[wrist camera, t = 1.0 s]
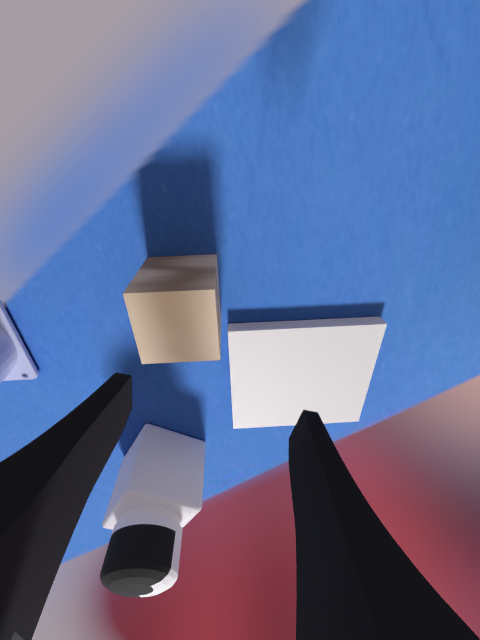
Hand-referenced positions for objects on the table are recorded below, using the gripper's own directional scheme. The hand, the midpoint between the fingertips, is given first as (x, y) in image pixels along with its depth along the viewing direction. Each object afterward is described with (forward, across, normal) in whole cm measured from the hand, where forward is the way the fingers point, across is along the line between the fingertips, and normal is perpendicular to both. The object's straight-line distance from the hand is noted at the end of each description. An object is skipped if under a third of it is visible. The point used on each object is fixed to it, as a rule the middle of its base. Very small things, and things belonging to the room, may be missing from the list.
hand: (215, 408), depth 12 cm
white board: (+12, -8, +8) cm, 17 cm away
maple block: (+12, +4, +1) cm, 12 cm away
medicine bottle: (+11, +4, +22) cm, 24 cm away
